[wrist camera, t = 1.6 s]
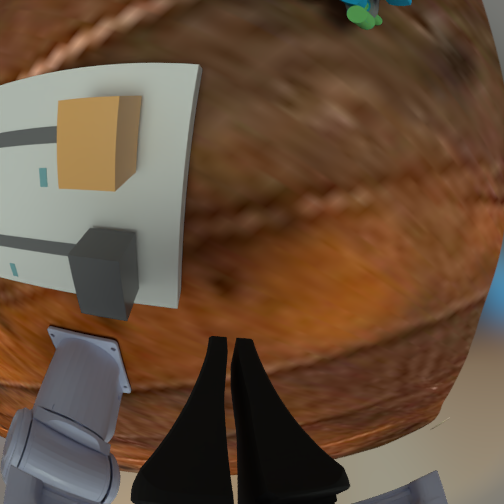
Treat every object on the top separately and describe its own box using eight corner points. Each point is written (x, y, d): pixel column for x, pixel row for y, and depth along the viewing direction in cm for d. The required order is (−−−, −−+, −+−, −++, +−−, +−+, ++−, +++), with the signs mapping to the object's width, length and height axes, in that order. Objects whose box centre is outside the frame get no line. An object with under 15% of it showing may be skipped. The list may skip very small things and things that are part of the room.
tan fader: (135, 172, 13) (114, 191, 10) (86, 170, 13) (58, 188, 10) (141, 95, 11) (119, 96, 8) (88, 97, 11) (58, 100, 8)
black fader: (139, 288, 17) (127, 320, 14) (97, 282, 16) (81, 312, 14) (135, 232, 15) (119, 261, 12) (89, 227, 14) (67, 254, 12)
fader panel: (181, 290, 20) (177, 309, 18) (-22, 256, 17) (-33, 268, 15) (202, 68, 13) (198, 64, 11) (-42, 103, 9) (-58, 108, 7)
